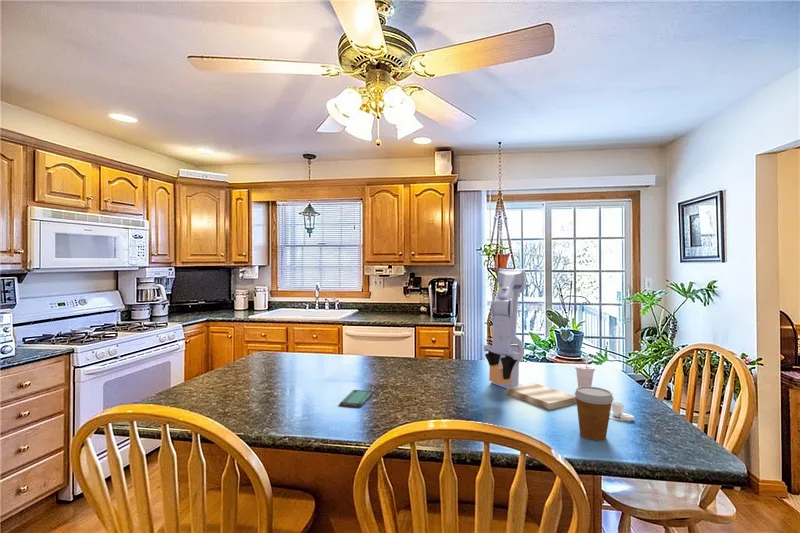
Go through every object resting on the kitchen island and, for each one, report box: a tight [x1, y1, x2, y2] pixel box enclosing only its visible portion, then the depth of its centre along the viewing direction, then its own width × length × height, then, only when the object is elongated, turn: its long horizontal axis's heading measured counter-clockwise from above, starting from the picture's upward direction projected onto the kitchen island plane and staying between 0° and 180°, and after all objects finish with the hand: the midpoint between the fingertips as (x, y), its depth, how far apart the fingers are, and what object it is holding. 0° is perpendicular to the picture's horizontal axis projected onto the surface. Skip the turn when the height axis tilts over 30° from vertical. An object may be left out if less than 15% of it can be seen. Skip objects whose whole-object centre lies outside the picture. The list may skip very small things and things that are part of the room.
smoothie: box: [574, 354, 596, 388], centre depth 146 cm, size 6×6×14 cm
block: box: [488, 364, 512, 384], centre depth 136 cm, size 5×5×5 cm
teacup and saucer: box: [609, 401, 635, 422], centre depth 125 cm, size 9×8×4 cm
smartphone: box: [339, 389, 374, 409], centre depth 135 cm, size 7×1×15 cm
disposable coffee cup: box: [574, 386, 615, 441], centre depth 110 cm, size 10×10×12 cm
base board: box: [506, 382, 577, 410], centre depth 141 cm, size 18×14×2 cm
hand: (500, 376), depth 136 cm, fingers closed on block, 5 cm apart
